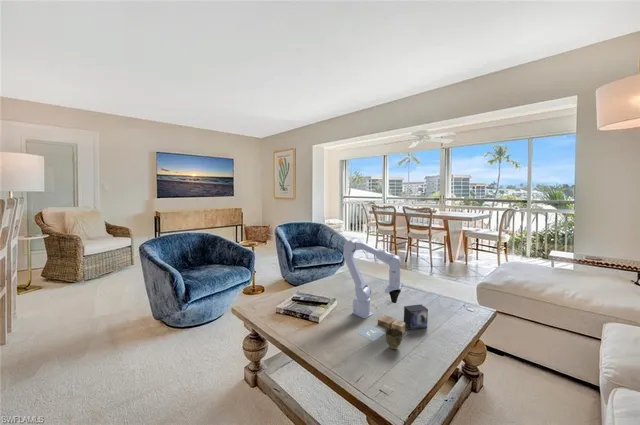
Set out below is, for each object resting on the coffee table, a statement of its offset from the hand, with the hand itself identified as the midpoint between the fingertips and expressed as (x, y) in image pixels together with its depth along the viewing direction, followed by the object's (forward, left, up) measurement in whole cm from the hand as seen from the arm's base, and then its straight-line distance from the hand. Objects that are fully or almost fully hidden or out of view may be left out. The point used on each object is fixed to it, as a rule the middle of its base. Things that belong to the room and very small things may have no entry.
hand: (394, 302), depth 149 cm
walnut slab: (-1, -6, -11) cm, 12 cm away
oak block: (+9, -9, -10) cm, 16 cm away
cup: (+14, -22, -11) cm, 28 cm away
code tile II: (+9, -9, -10) cm, 16 cm away
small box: (+11, +3, -11) cm, 16 cm away
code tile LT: (-1, -19, -10) cm, 22 cm away
